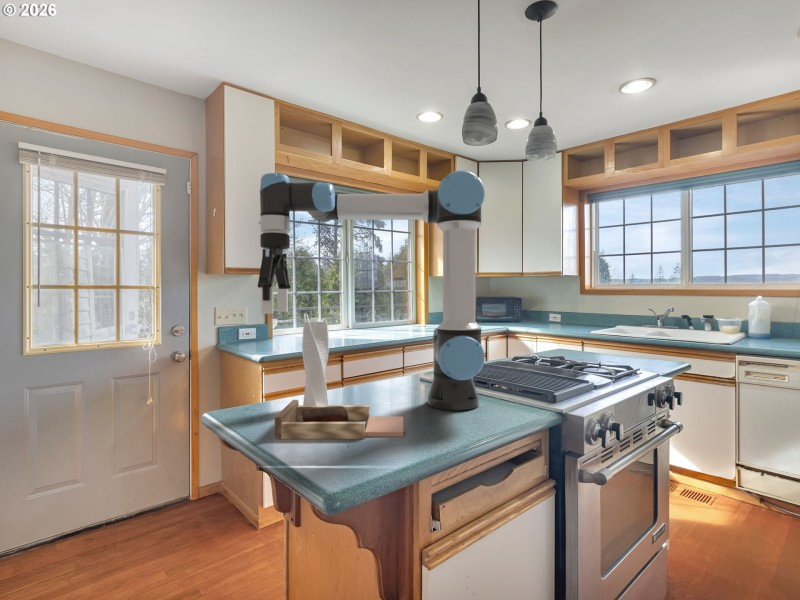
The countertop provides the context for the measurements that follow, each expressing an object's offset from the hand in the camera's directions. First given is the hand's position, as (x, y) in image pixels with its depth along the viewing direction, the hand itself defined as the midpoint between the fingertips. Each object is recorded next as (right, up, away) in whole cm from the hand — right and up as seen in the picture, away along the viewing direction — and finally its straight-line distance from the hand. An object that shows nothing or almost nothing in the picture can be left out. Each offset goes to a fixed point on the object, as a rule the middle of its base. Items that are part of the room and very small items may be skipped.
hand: (275, 312), depth 115 cm
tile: (+30, -28, -9) cm, 42 cm away
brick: (+17, -28, -8) cm, 34 cm away
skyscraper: (+9, -28, +10) cm, 31 cm away
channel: (+16, -28, -8) cm, 33 cm away
